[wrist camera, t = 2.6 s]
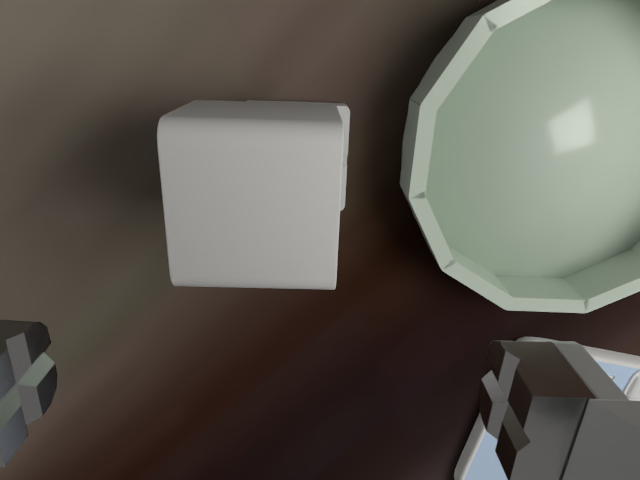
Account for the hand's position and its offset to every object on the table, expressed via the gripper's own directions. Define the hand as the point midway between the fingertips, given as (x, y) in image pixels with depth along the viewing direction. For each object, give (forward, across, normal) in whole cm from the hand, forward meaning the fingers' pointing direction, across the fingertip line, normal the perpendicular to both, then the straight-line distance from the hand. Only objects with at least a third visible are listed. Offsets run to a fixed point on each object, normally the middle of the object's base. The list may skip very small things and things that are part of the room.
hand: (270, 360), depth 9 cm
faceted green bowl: (+18, -14, -1) cm, 23 cm away
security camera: (+18, +1, 0) cm, 18 cm away
